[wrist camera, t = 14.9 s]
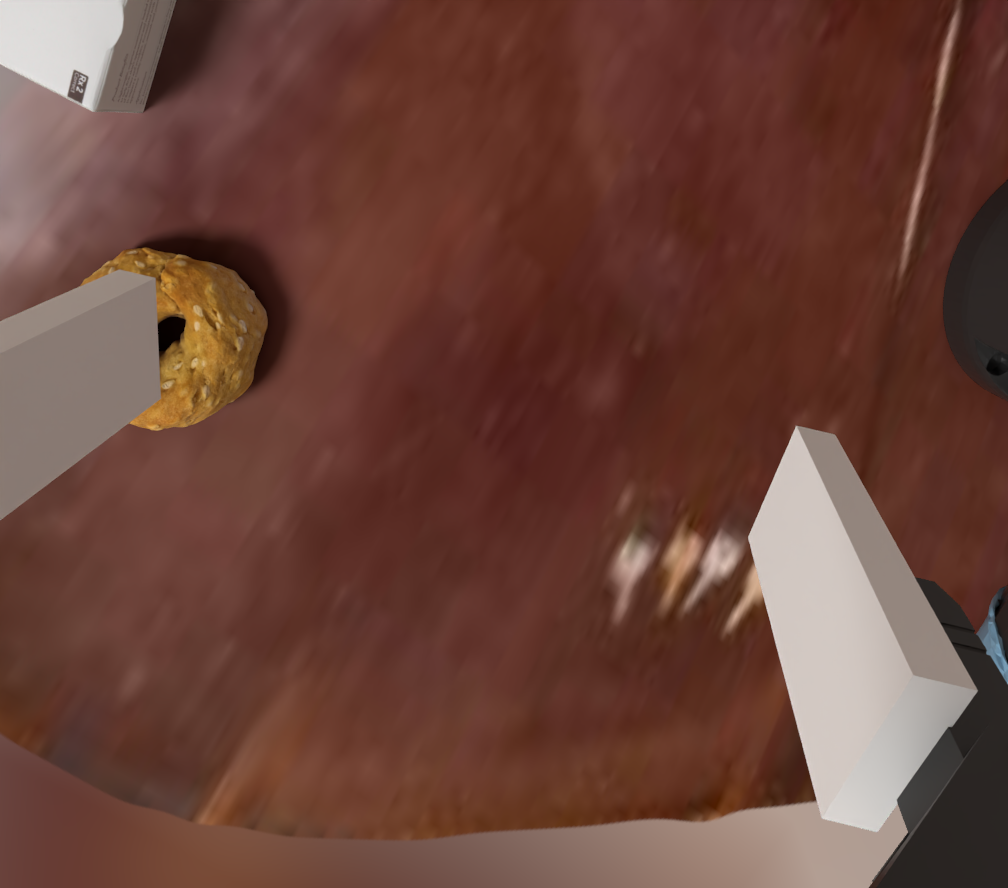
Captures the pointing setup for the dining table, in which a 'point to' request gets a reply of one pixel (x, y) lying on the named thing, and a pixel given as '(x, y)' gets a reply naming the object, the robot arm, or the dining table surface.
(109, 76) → the small box
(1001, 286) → the robot arm
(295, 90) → the dining table surface
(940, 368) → the dining table surface
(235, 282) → the bagel
